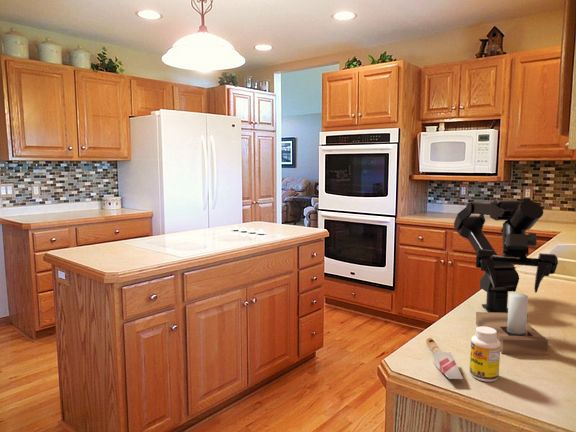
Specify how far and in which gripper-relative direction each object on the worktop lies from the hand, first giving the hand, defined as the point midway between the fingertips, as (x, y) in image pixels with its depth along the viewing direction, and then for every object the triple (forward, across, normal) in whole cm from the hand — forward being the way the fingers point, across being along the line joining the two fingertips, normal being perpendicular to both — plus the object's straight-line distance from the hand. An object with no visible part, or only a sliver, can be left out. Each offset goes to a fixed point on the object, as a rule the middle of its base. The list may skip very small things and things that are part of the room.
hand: (515, 289), depth 109 cm
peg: (+13, 0, +4) cm, 14 cm away
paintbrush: (+24, -16, -7) cm, 30 cm away
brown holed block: (+10, -1, +7) cm, 12 cm away
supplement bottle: (+27, -7, -9) cm, 29 cm away
